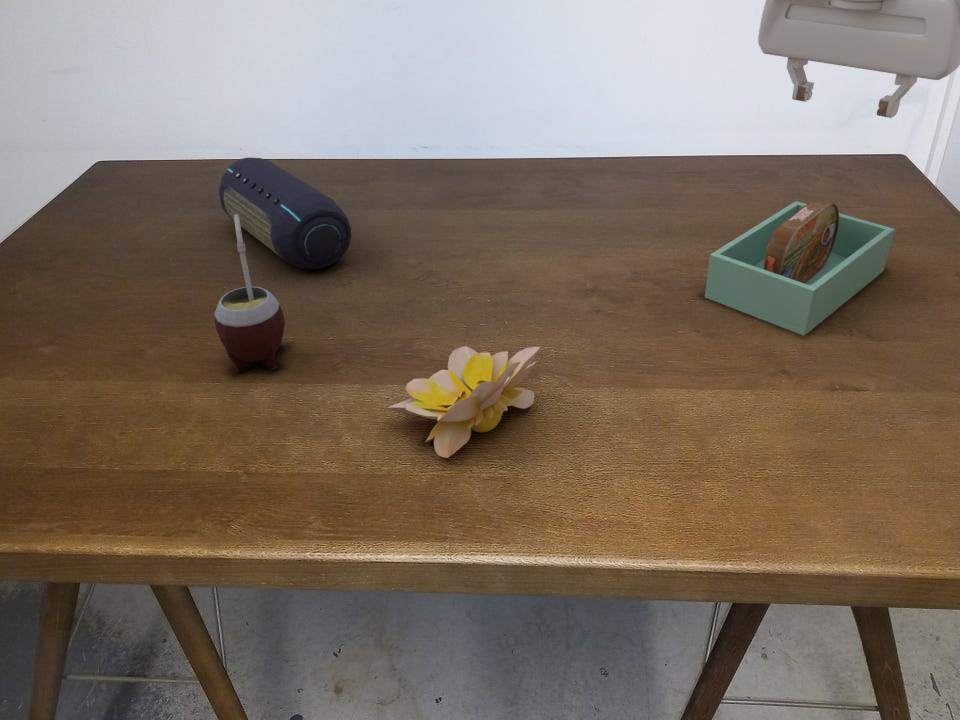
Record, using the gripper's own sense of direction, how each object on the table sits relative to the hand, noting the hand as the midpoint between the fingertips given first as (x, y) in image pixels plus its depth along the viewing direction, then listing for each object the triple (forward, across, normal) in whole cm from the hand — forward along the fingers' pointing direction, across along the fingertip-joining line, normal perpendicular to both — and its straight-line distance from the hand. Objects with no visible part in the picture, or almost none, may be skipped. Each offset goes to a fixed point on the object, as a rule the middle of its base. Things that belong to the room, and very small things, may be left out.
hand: (842, 107), depth 88 cm
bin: (+21, 0, +3) cm, 21 cm away
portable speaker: (+20, +58, +38) cm, 72 cm away
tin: (+20, 0, +3) cm, 20 cm away
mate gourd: (+20, +36, +56) cm, 69 cm away
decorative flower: (+20, +11, +47) cm, 52 cm away
